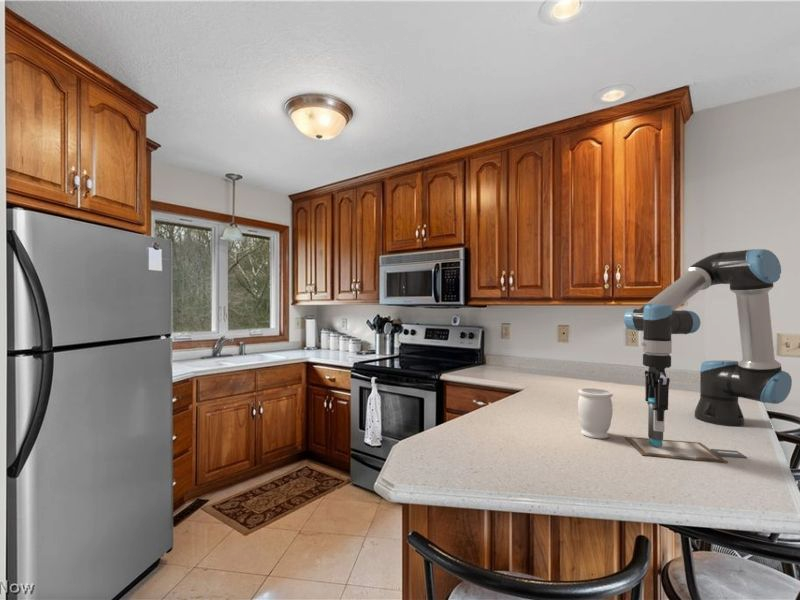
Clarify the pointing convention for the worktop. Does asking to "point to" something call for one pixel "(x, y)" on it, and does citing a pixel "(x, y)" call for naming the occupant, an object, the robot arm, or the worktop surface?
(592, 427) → the jar
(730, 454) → the grey slotted plate
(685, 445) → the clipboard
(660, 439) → the grey and teal cylinder
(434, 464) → the worktop surface
